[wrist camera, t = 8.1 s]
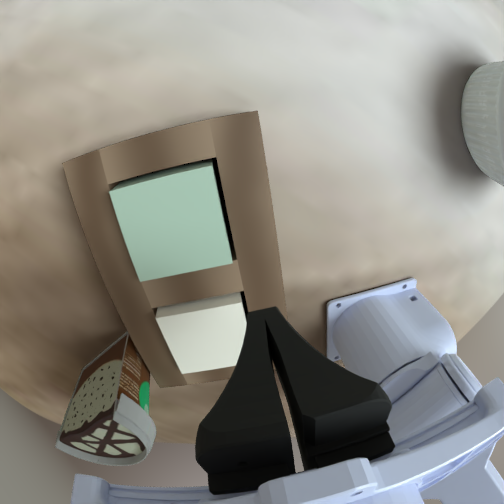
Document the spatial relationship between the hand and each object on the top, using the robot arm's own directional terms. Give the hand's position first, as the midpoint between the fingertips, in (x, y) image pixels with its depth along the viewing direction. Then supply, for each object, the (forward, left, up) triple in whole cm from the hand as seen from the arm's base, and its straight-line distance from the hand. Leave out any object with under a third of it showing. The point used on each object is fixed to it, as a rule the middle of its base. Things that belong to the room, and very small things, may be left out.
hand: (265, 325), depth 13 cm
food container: (+14, +11, -10) cm, 20 cm away
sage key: (+4, -4, -8) cm, 10 cm away
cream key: (+4, +6, -8) cm, 11 cm away
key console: (+4, +1, -9) cm, 10 cm away
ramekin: (-26, -8, -10) cm, 29 cm away
